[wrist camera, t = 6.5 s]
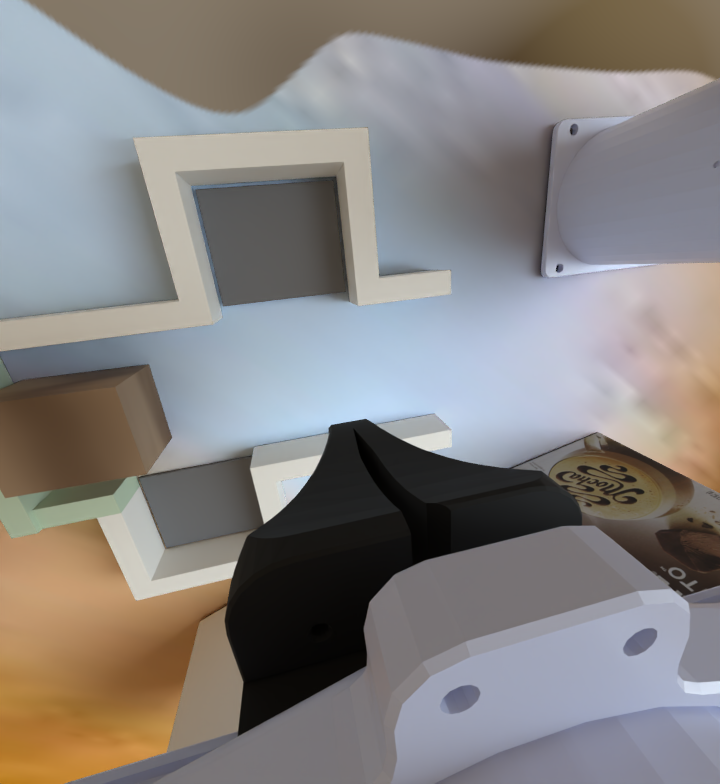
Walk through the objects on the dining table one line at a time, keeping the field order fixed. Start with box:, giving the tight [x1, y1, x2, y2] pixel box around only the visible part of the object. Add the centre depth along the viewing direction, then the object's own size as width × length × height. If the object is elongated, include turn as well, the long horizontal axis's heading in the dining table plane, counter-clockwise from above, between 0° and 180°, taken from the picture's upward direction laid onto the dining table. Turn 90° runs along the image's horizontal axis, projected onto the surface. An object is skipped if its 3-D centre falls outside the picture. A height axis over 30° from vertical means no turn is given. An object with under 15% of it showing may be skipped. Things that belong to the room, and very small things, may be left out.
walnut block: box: [0, 364, 172, 498], centre depth 17 cm, size 6×4×4 cm
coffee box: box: [512, 433, 720, 597], centre depth 20 cm, size 9×6×16 cm
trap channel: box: [0, 127, 452, 601], centre depth 18 cm, size 24×23×3 cm
